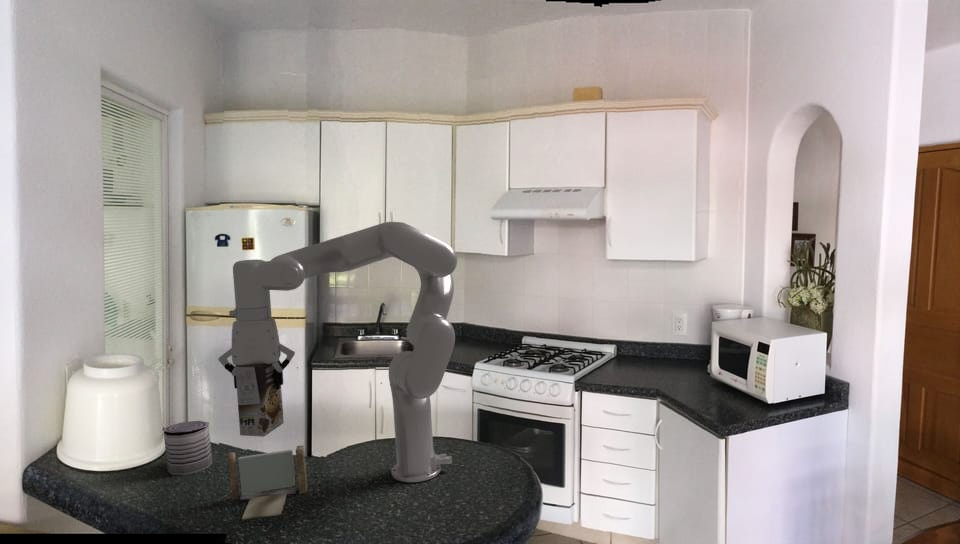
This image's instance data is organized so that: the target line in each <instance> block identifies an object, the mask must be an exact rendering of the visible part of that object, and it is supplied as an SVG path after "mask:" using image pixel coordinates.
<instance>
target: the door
mask: <svg viewBox="0 0 960 544" xmlns="http://www.w3.org/2000/svg"><path fill="white" fill-rule="evenodd" d="M293 455H294V453H293V449H285V450H279V451H273V452H265V453H259V454H251V455H245V456H244V455H243V456H238V459H237V460H238V469H239V470H238V471H239V481H240V490H241V495H242V494H250V493H259V492H267V491H274V490H281V489H286V488H291V487H295V486H296V477H295V467H294V466H295V465H294V456H293Z"/></svg>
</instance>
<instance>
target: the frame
mask: <svg viewBox="0 0 960 544" xmlns="http://www.w3.org/2000/svg"><path fill="white" fill-rule="evenodd" d="M305 453H306V452H305V445H303V444H302V445H297V446H296V448H295V459H296V460H295V461H296V467H297V468H296V469H297V482H298V489H297V487H294V488H287V489H286V488H284V489H275V490H267V491H261V492H255V493H249V494H242V493H241V496H240V491H239V489H240V488H239V481H238V480H239V479H238V470H237V462H236V453H235V452H234V451H232V452H229V453H227V458H228V459H227V460H228V467H229V478H230V488H231V498H232V501H237V500H250V498H253V497H262V496H271V495H279V494H287V495H292V494H294V495H295V494H296V493H297V490H298V492H299V495H301V494H306V493H307V491H308V480H307V479H308V478H307V468H306V457H305V456H306V455H305Z"/></svg>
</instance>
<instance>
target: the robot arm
mask: <svg viewBox="0 0 960 544" xmlns="http://www.w3.org/2000/svg"><path fill="white" fill-rule="evenodd" d="M389 258H394V259H395V258H396V259H397V260H398V261H402V262H404V263H406V264H407V265H409V266H412V267H413V268H414V269H415V271H417V273H418V276H419V279H420V289H419V293H418V297H417V301H416V303H415V305H414V308H413V311H412V312H411V313H412V314H411V316H410V319H409V322H408V325H407V326H406V331H405V332H406V338H407V340H408V342H409V343H410V344H411V345H412V346H414V348H413V351H412V350H411V351H410V350H405V351H402V352H399V353H397V354H396V355H395V356H394V357H393V358H392V360H391V361H390V363H389V366H388V380H389V386H390V390H391V392H390V393H391V399H392V407H393V423H394V424H393V425H394V426H393V427H394V439H395V455H396V464H395V465H394V466H393V467H392V468H391V476H392V478H394V479H395V480H396V481H400V482H403V483H420V482H424V481H428V480H431V479H433V478H435V477H437V476H438V475H439V474H440V472H441V470H442V468H441V465H449V464H453V457H452V455H447V453H441V454H437V453H436V452H435V449H434V439H433V437H434V436H433V424H432V423H433V421H432V406H431V405H432V404H431V396H433V395H434V394H435V393H436V392H437V390H438V389H439V387H440V386H441V383H442V381H443V378H444V376H445V373H446V370H447V367H448V365H449V363H450V359H451V356H452V353H453V350H454V347H455V342H456V332H455V329H454V326H453V324H452V323H451V322H450V321H449V320H447V317H448V314H449V311H450V308H451V304H452V302H453V297H454V290H455V287H454V278H453V274H452V273H453V272H454V271H455V270H456V268H457V264H458V257H457V253H456V251H455V249H454V248H453V247H451V245H449V244H448V243H446V242H444V241H442V240H440V239H438V238H436V237H433V236H432V235H429V234H428V233H426V232H424V231H422V230H420V229H418V228H416V227H414V226H411V225H409V224H408V223H405V222H401V221H387V222H386V221H385V222H382V223H378V224H375V225H373V226H370V227H366V228H362V229H359V230H357V231H353V232H350V233H346V234H344V235H340V236H337V237H335V238H330V239H327V240H325V241H321V242H319V243H315V244H311V245H308V246H305V247H301V248H298V249H295V250H291V251H288V252H285V253H282V254H278V255H276V256H275V257H273V258H271V260H266V261H265V260H263V259H244V260H238V261H236V262H235V263H233V264H232V265H233V266H232V279H233V288H234V289H233V290H234V303H235V308H234V309H233V310H229V312H228V315H229V317H234V318H235V321H233V322H232V328H231V347H230V349H228V350H227V351H226V352H224V353H223V354H222V355H220V356H219V357H218V358H217V360H218V363H220V364H221V366H223V367H224V369H225V370H226V371H228V372H229V373H230V374H231V376H233V385H234V389H236V390H237V384H236V369H235V366H245V365H252V364H272V365H273V366H274V368H275V369H276V372H275V382H276V389H277V390H279V389H280V387H281V388H282V386H283V385H284V373H283V371H284V370H285V369H286V368H287V366H289V364H290V363H291V361H292V359H293V358H294V356H295V354H296V352H295V351H294V350H293V349H290V348H289V347H288V346H285V345H284V344H282V343H280V337H279V330H278V326H277V322H276V319H275V318H274V317H272V303H271V291H284V292H286V291H293V290H297V289H298V288H299V287H300V286H301V285H302V284H303V283H304V281H305V279H309V278H313V277H316V276H320V275H324V274H329V273H332V274H333V273H344V272H350V271H351V272H352V271H353V270H356V269H359V268H362V267H365V266H369V265H371V264H373V263H376V262H380V261H383V260H386V259H389ZM281 353H282V354H284V355H286V357H285V359H284V360H282V362H281V360H280V358H281ZM230 357H231V360H232V363H231V362H230V361H229V360H228V358H230Z"/></svg>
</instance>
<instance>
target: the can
mask: <svg viewBox="0 0 960 544" xmlns="http://www.w3.org/2000/svg"><path fill="white" fill-rule="evenodd" d="M209 424H210V422H209V421H208V422H207V421H201V420H195V421H194V420H193V421H182V422H177V423H175V424H170V425H166V426H165V427H164V428H163V429H162V430H161V431H162V432H163V439H164V448H165V457H166V466H167V472H168V473H170V475H172V476H173V475H174V476H186V475H191V474H195V473H200V472H201V471H204V470H205V469H208V468H210V466H211V465H212V463H213V456H212V454H213V453H212V445H211V436H210V427H209Z"/></svg>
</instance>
